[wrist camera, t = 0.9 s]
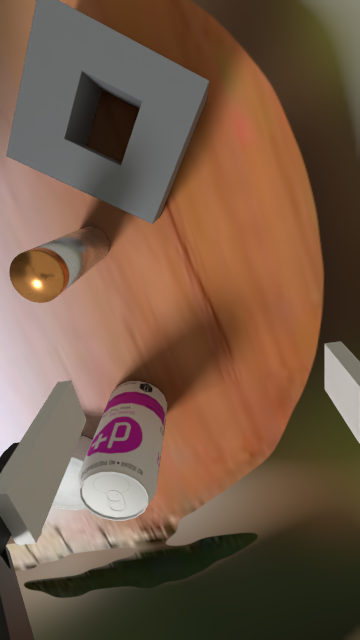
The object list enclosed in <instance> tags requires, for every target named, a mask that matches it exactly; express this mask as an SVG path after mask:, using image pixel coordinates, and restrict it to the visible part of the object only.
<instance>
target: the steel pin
mask: <svg viewBox="0 0 360 640" xmlns="http://www.w3.org/2000/svg"><path fill="white" fill-rule="evenodd" d="M108 251H109V241H108V238H107V236H106V235H105V234H104V232H102V231H101V230H100V229H98V228H96V227H85V228H82V229H80V230H77V231H75V232H72V233H70V234H67V235H65V236H62V237H60V238H58V239H55V240H53V241H50V242H48V243H45V244H43V245H40V246H38V247H35V248H33V249H30V250H28V251H26V252H23V253H21V254H19V255H18V256H16V257H15V258H14V260H13V261H12V263H11V266H10V279H11V282H12V284H13V286H14V288H15V289H16V290H17V291H18V293H19V294H21V295H22V296H23V297H24V298H26V299H28V300H30V301H33V302H38V303H44V302H48V301H51V300H53V299H54V298H56V297H57V296H58V295H59V294H60V293H62V292H63V291H64V290H65V289H67V288H68V287H69V286H70V285H71V284H73V283H74V282H75V281H76V280H78V279H79V278H80V277H81V276H83V275H84V274H85V273H86V272H87V271H89V270H90V269H91V268H92V267H94V266H95V265H96V264H97V263H99V262H100V261H101V260H102V259H103V258H105V256H106V255H107V254H108Z"/></svg>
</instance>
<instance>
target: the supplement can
mask: <svg viewBox="0 0 360 640" xmlns="http://www.w3.org/2000/svg"><path fill="white" fill-rule="evenodd" d="M166 414H167V402H166V399H165V396H164V395H163V394H162V393H161V391H160V390H159V389H158V388H156V387H154V386H153V385H151V384H149V383H145V382H141V381H129V382H126V383H123V384H121V385H119V386H118V387H117V388H116V389H115V390H113V392H112V394H111V396H110V399H109V401H108V403H107V406H106V408H105V411H104V413H103V416H102V418H101V421H100V423H99V426H98V428H97V430H96V433H95V435H94V438H93V440H92V443H91V445H90V448H89V450H88V452H87V455H86V457H85V460H84V462H83V465H82V467H81V470H80V472H79V474H78V480H79V488H80V489H79V495H80V499H81V501H82V503H83V505H84V506H85V507H86V508H87V509H88V510H89V511H90V512H92V513H93V514H95V515H97V516H99V517H101V518H104V519H109V520H113V521H121V520H129V519H132V518H136V517H137V516H139V515H140V514H141V513H143V512H144V510H145V509H146V507H147V505H148V504H149V503H150V501H151V500H152V498H153V496H154V495H155V493H156V488H157V480H158V473H159V466H160V458H161V451H162V443H163V436H164V429H165V421H166Z"/></svg>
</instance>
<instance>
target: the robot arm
mask: <svg viewBox="0 0 360 640" xmlns="http://www.w3.org/2000/svg"><path fill="white" fill-rule="evenodd" d="M325 390H326V392H327V393H328V395H329V397H330V398H331V400H332V401H333V403H334V404H335V406H336V407H337V409H338V411H339V412H340V414H341V415H342V417H343V418H344V420H345V422H346V423H347V425H348V426H349V428H350V429H351V431H352V432H353V434H354V436H355V437H356V439H357V440H358V442H359V443H360V362H359V361H358V360H357V359H356V357H355V356H354V355H353V354H352V353H351V352H350V351H349V350H348V349H347V348H346V347H345V345H344V344H342V342H334V343H327V344H325ZM86 421H87V420H86V417H85V415H84V412H83V409H82V407H81V404H80V402H79V399H78V396H77V394H76V391H75V389H74V386H73V383H72V381H71V380H70V381H63V382H58V383H57V384H56V386H55V387H54V389H53V391H52V392H51V394H50V395H49V397H48V399H47V400H46V402H45V403H44V405H43V406H42V408H41V410H40V411H39V413H38V414H37V416H36V418H35V419H34V421H33V422H32V424H31V426H30V427H29V429H28V430H27V432H26V433H25V435H24V437H23V438H22V440H21V441H20V442H19V443H13V444H12V445H11V446H10V447H9V448H8V449H7V450H6V451H5V452H4V453H3V454H2V455H1V457H0V640H34V637H33V633H32V630H31V626H30V623H29V619H28V616H27V612H26V609H25V605H24V602H23V598H22V595H21V591H20V588H19V584H18V581H17V577H16V574H15V570H14V566H13V563H12V559H11V556H10V552H9V550H8V548H7V547H6V544H7V542H8V540H9V538H10V536H12V538H13V539H14V541H15V542H16V544H17V545H22V544H33V543H36V542H37V540H38V537H39V535H40V533H41V530H42V528H43V525H44V523H45V520H46V518H47V516H48V513H49V511H50V508H51V506H52V503H53V501H54V499H55V496H56V494H57V491H58V489H59V486H60V484H61V482H62V479H63V477H64V474H65V472H66V470H67V467H68V465H69V462H70V460H71V457H72V455H73V453H74V450H75V448H76V445H77V443H78V440H79V438H80V436H81V433H82V431H83V428H84V426H85V423H86Z"/></svg>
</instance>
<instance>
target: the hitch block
mask: <svg viewBox="0 0 360 640" xmlns="http://www.w3.org/2000/svg"><path fill="white" fill-rule="evenodd" d="M208 87H209V80H207V79H205V78H203V77H201V76H199V75H197V74H195V73H194V72H192V71H190V70H188V69H186V68H184V67H182V66H180V65H179V64H177V63H175V62H173V61H171V60H169V59H167V58H165V57H164V56H162V55H160V54H158V53H156V52H154V51H152V50H150V49H149V48H147V47H145V46H143V45H141V44H139V43H137V42H135V41H134V40H132V39H130V38H128V37H126V36H124V35H122V34H120V33H119V32H117V31H115V30H113V29H111V28H109V27H107V26H105V25H104V24H102V23H100V22H98V21H96V20H94V19H92V18H90V17H89V16H87V15H85V14H83V13H81V12H79V11H77V10H75V9H74V8H72V7H70V6H68V5H66V4H64V3H62V2H60V1H59V0H37V1H36V6H35V12H34V17H33V22H32V27H31V32H30V37H29V42H28V48H27V53H26V58H25V63H24V68H23V73H22V78H21V83H20V89H19V94H18V99H17V104H16V109H15V114H14V119H13V125H12V130H11V135H10V140H9V145H8V150H7V155H6V156H7V157H9V158H11V159H14V160H16V161H18V162H20V163H22V164H24V165H27V166H29V167H31V168H33V169H35V170H37V171H39V172H42V173H44V174H46V175H48V176H50V177H52V178H55V179H57V180H59V181H61V182H63V183H65V184H67V185H70V186H72V187H74V188H76V189H78V190H80V191H83V192H85V193H87V194H89V195H91V196H93V197H95V198H98V199H100V200H102V201H104V202H106V203H108V204H111V205H113V206H115V207H117V208H119V209H121V210H124V211H126V212H128V213H130V214H132V215H134V216H136V217H139V218H141V219H143V220H145V221H147V222H149V223H152V224H153V223H154V222H155V221H156V220H157V219H158V218H159V217H160V215H161V213H162V210H163V208H164V205H165V203H166V200H167V198H168V195H169V193H170V190H171V188H172V185H173V183H174V180H175V178H176V175H177V173H178V170H179V168H180V165H181V163H182V160H183V158H184V155H185V153H186V150H187V148H188V145H189V143H190V140H191V138H192V135H193V133H194V131H195V128H196V126H197V123H198V121H199V118H200V116H201V113H202V111H203V108H204V106H205V103H206V101H207V96H208ZM102 90H103V91H105V92H107V93H109V94H111V95H113V96H115V97H117V98H119V99H121V100H123V101H125V102H127V103H129V104H131V105H133V106H135V107H137V108H139V109H140V110H139V113H138V116H137V119H136V122H135V125H134V128H133V131H132V134H131V137H130V140H129V143H128V146H127V149H126V152H125V155H124V158H123V161H122V163H121V162H119V161H117V160H115V159H113V158H111V157H109V156H107V155H104V154H102V153H100V152H98V151H96V150H94V149H92V148H90V147H88V146H87V143H88V139H89V136H90V132H91V129H92V125H93V122H94V118H95V114H96V111H97V107H98V104H99V100H100V97H101V93H102Z"/></svg>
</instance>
